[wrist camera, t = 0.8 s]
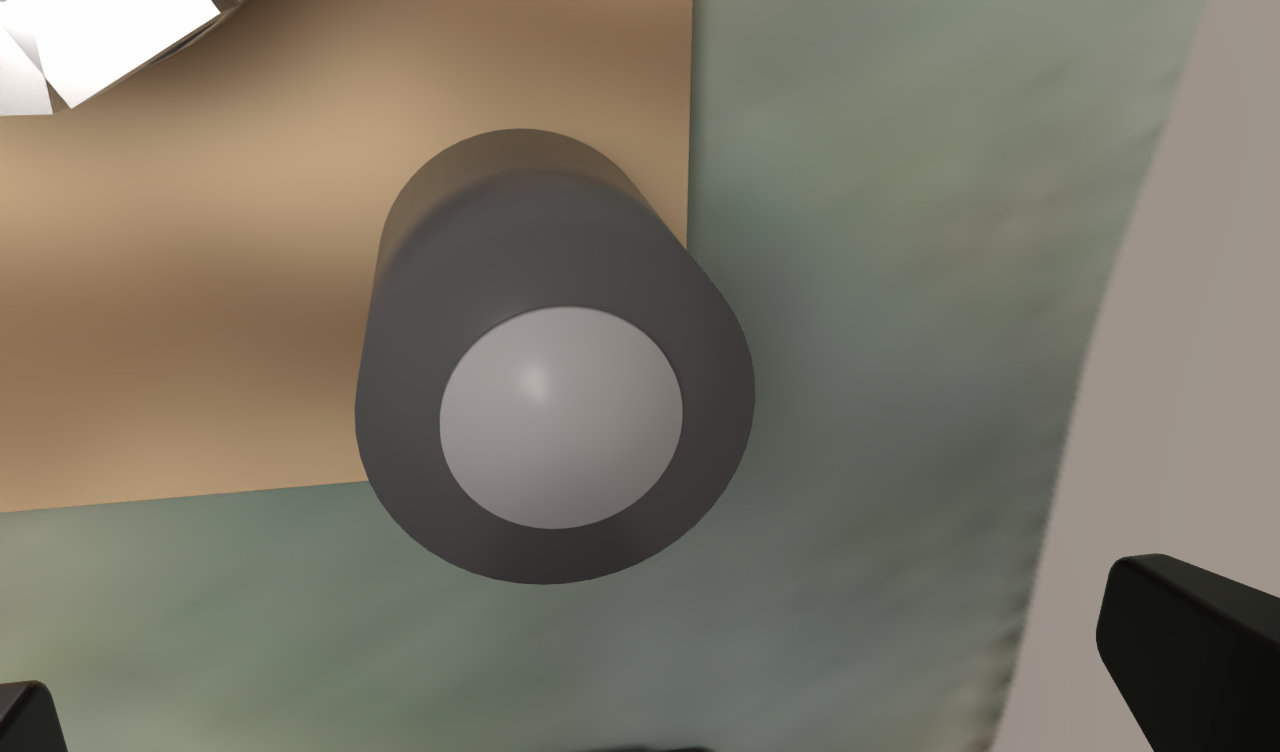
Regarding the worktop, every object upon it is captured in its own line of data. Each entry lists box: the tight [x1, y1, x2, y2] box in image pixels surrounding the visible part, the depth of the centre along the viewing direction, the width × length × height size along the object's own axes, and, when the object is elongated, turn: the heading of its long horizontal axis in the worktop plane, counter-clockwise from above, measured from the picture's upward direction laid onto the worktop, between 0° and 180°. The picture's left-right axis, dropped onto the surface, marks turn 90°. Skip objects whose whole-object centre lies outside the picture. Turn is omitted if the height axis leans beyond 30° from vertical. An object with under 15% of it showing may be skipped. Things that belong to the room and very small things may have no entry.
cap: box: [354, 128, 755, 585], centre depth 15 cm, size 5×5×6 cm
